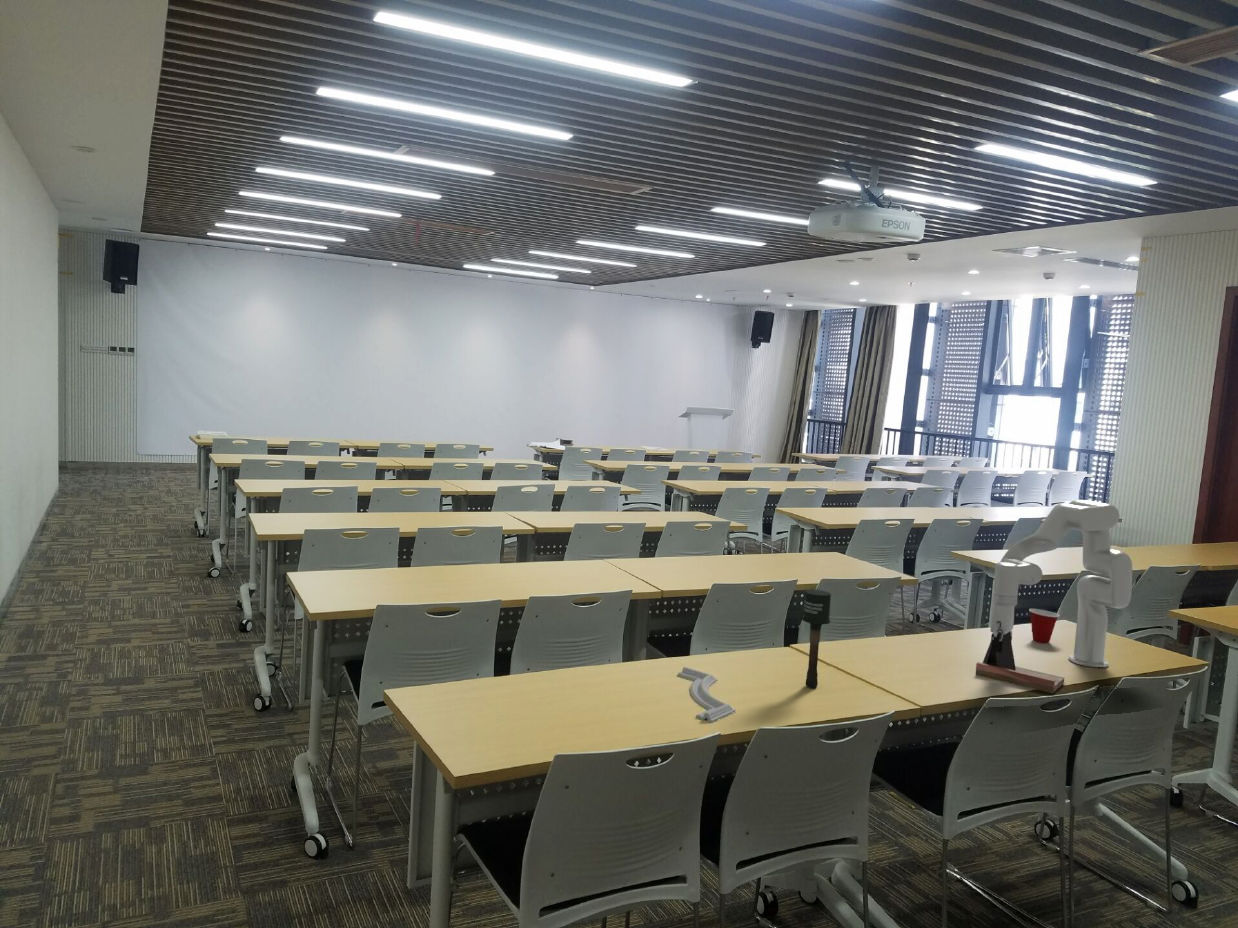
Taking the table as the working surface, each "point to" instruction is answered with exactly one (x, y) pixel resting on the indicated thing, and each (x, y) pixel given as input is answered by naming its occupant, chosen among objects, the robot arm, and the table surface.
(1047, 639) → the plastic cup
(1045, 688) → the board
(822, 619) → the stick grenade
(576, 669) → the table surface
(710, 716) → the molding
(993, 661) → the door stopper
